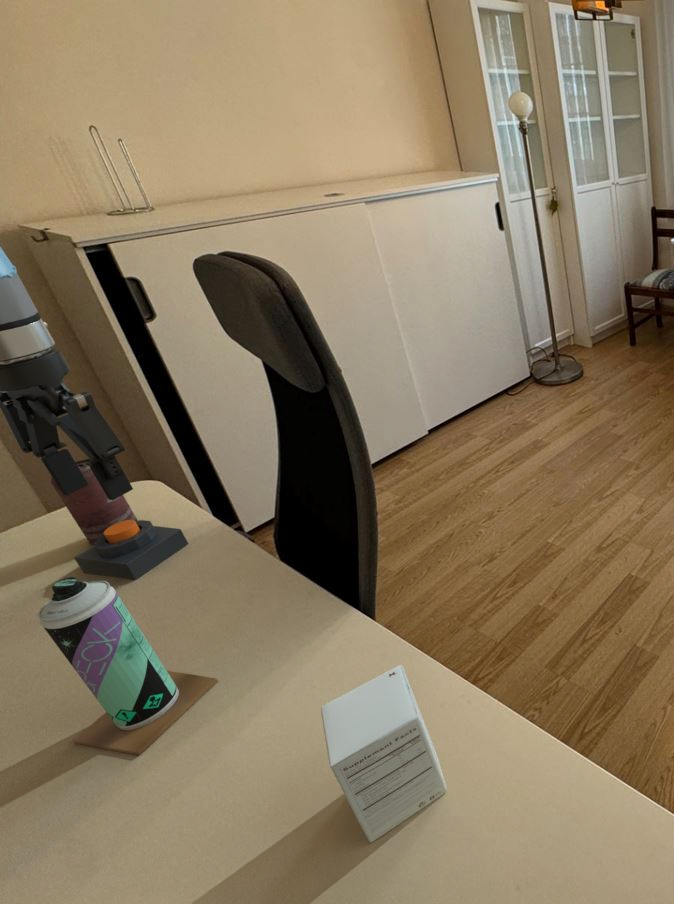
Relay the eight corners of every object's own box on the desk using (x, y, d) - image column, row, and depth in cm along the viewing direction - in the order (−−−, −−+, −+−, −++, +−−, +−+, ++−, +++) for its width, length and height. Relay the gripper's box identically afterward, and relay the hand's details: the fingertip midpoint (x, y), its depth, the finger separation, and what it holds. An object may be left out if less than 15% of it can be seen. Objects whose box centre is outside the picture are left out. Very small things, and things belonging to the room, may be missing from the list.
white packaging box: (356, 782, 59) (318, 704, 53) (431, 737, 63) (403, 660, 58) (368, 847, 53) (327, 768, 48) (449, 793, 57) (419, 714, 52)
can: (119, 521, 98) (80, 455, 92) (150, 524, 97) (112, 457, 91) (79, 546, 93) (34, 477, 87) (111, 549, 92) (68, 479, 86)
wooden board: (74, 743, 63) (72, 740, 63) (159, 671, 71) (157, 668, 71) (139, 755, 62) (137, 752, 61) (218, 680, 70) (216, 678, 69)
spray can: (115, 708, 66) (24, 584, 58) (176, 677, 70) (99, 555, 61) (117, 740, 63) (21, 613, 54) (181, 705, 66) (100, 580, 58)
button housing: (83, 573, 87) (67, 548, 85) (139, 538, 94) (126, 514, 92) (135, 580, 85) (120, 555, 83) (188, 543, 93) (176, 520, 90)
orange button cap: (102, 542, 86) (96, 534, 86) (128, 527, 90) (123, 518, 89) (121, 545, 86) (115, 536, 85) (146, 529, 89) (141, 520, 88)
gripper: (111, 347, 77) (180, 482, 86) (-6, 341, 80) (74, 472, 89) (42, 370, 70) (126, 514, 79) (-82, 362, 73) (13, 501, 82)
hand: (98, 491), depth 84 cm, fingers open, 8 cm apart
